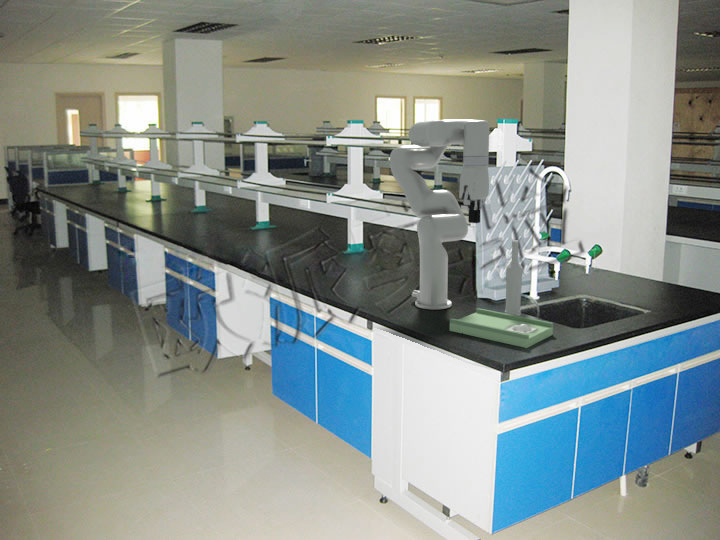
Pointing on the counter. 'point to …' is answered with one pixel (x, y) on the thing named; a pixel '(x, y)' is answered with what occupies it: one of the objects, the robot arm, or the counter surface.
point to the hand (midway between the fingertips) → (474, 222)
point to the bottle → (513, 282)
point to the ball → (523, 328)
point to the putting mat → (502, 327)
